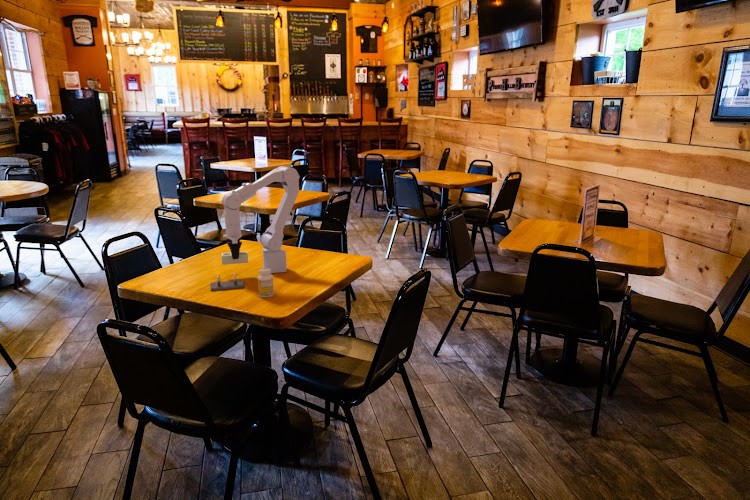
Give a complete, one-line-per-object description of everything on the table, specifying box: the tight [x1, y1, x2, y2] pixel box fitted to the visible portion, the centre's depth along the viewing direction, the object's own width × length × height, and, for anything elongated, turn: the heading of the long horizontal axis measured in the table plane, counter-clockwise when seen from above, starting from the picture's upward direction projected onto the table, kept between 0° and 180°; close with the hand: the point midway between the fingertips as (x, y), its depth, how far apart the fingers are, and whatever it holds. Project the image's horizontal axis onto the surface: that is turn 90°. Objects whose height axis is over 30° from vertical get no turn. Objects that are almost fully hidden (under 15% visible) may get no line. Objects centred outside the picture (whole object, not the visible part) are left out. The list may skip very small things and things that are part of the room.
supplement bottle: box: [257, 267, 275, 298], centre depth 181 cm, size 5×5×10 cm
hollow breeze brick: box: [220, 251, 249, 266], centre depth 201 cm, size 10×5×4 cm, turn 108°
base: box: [210, 273, 245, 292], centre depth 191 cm, size 12×7×4 cm, turn 108°
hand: (235, 257), depth 201 cm, fingers closed on hollow breeze brick, 5 cm apart
